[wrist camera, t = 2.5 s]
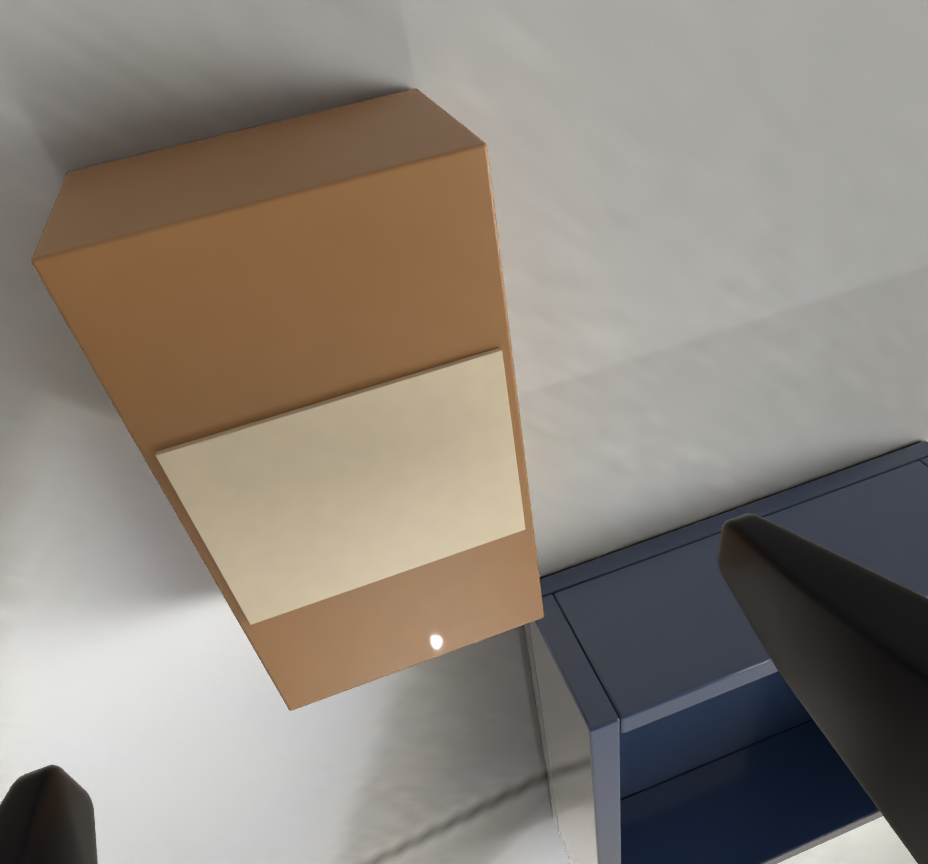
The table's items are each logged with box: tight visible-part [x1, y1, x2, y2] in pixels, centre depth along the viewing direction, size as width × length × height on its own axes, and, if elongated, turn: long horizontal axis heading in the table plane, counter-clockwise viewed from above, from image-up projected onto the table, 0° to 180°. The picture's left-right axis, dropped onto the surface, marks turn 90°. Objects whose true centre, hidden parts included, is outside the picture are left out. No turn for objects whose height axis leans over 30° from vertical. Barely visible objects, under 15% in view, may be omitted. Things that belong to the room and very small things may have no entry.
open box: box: [524, 441, 928, 864], centre depth 24 cm, size 14×16×5 cm
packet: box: [31, 89, 544, 710], centre depth 13 cm, size 6×10×4 cm, turn 8°
